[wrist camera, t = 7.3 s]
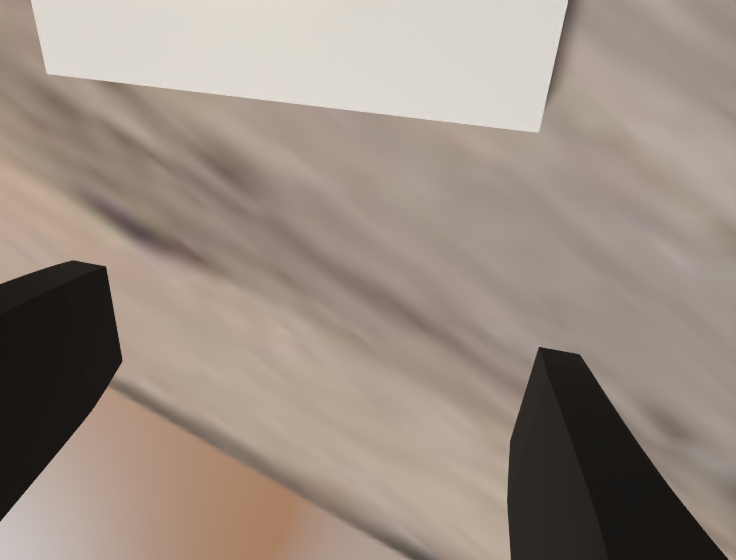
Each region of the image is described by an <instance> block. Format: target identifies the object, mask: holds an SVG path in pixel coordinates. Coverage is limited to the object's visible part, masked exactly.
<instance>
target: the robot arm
mask: <svg viewBox="0 0 736 560" xmlns="http://www.w3.org/2000/svg"><path fill="white" fill-rule="evenodd" d="M121 363H122V355H121V349H120V343H119V338H118V332H117V326H116V321H115V315H114V309H113V304H112V298H111V292H110V286H109V281H108V275H107V269H106V266H101V265H95V264H90V263H84V262H79V261H74V260H73V261H69V262H65V263H61V264H58V265H54V266H51V267H48V268H45V269H42V270H39V271H36V272H33V273H30V274H27V275H24V276H21V277H19V278H16V279H13V280H10V281H7V282H5V283H2V284H0V521H1V520H2V519H3V518H4V516H5V515H6V514H7V513H8V512H9V510H10V509H11V508H12V507H13V506H14V504H15V503H16V502H17V501H18V500H19V498H20V497H21V496H22V495H23V494H24V492H25V491H26V490H27V489H28V488H29V486H30V485H31V484H32V483H33V482H34V480H35V479H36V478H37V477H38V476H39V474H40V473H41V472H42V471H43V470H44V468H45V467H46V466H47V465H48V464H49V462H50V461H51V460H52V459H53V458H54V456H55V455H56V454H57V453H58V452H59V451H60V449H61V448H62V447H63V446H64V444H65V443H66V442H67V441H68V440H69V438H70V437H71V436H72V435H73V433H74V432H75V431H76V430H77V428H78V427H79V426H80V425H81V424H82V422H83V421H84V420H85V419H86V417H87V416H88V415H89V413H90V412H91V411H92V409H93V408H94V407H95V405H96V404H97V402H98V401H99V399H100V397H101V396H102V394H103V393H104V391H105V390H106V388H107V386H108V385H109V383H110V381H111V380H112V378H113V376H114V375H115V373H116V371H117V370H118V368H119V366H120V364H121ZM507 504H508V521H509V536H510V551H511V560H728V558H727V557H726V556H725V555H724V554H723V552H722V551H721V550H720V549H719V548H718V547H717V545H716V544H715V543H714V542H713V541H712V540H711V538H710V537H709V536H708V535H707V533H706V532H705V531H704V530H703V529H702V527H701V526H700V525H699V523H698V522H697V521H696V520H695V518H694V517H693V516H692V515H691V513H690V512H689V511H688V510H687V508H686V507H685V506H684V505H683V503H682V502H681V501H680V499H679V498H678V497H677V496H676V494H675V493H674V492H673V491H672V489H671V488H670V487H669V485H668V484H667V483H666V481H665V480H664V479H663V477H662V476H661V475H660V473H659V472H658V470H657V469H656V467H655V466H654V465H653V463H652V462H651V460H650V459H649V458H648V456H647V455H646V453H645V452H644V451H643V449H642V448H641V446H640V445H639V443H638V442H637V441H636V439H635V438H634V436H633V435H632V433H631V432H630V430H629V429H628V428H627V426H626V425H625V423H624V422H623V420H622V419H621V417H620V416H619V414H618V412H617V411H616V409H615V408H614V406H613V405H612V403H611V402H610V400H609V399H608V397H607V396H606V394H605V393H604V391H603V389H602V388H601V386H600V385H599V383H598V382H597V380H596V379H595V377H594V375H593V374H592V372H591V371H590V369H589V368H588V366H587V365H586V363H585V362H584V360H583V359H582V357H581V356H580V354H574V353H569V352H564V351H558V350H553V349H547V348H542V347H539V349H538V352H537V355H536V358H535V362H534V365H533V368H532V371H531V375H530V378H529V381H528V385H527V388H526V391H525V394H524V398H523V401H522V404H521V407H520V411H519V414H518V417H517V421H516V424H515V427H514V430H513V434H512V437H511V440H510V455H509V472H508V496H507Z"/></svg>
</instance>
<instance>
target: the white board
mask: <svg viewBox="0 0 736 560" xmlns="http://www.w3.org/2000/svg"><path fill="white" fill-rule="evenodd" d="M31 2H32V7H33V12H34V16H35V21H36V26H37V30H38V35H39V39H40V44H41V49H42V53H43V58H44V63H45V67H46V72H47V74H52V75H60V76H69V77H77V78H86V79H94V80H102V81H111V82H119V83H127V84H136V85H144V86H152V87H161V88H169V89H177V90H186V91H194V92H203V93H211V94H219V95H228V96H236V97H244V98H253V99H261V100H269V101H278V102H286V103H295V104H303V105H311V106H320V107H328V108H336V109H345V110H353V111H361V112H370V113H378V114H386V115H395V116H403V117H412V118H420V119H428V120H437V121H445V122H453V123H462V124H470V125H478V126H487V127H495V128H503V129H512V130H520V131H529V132H537V133H539V130H540V125H541V121H542V116H543V112H544V107H545V103H546V98H547V94H548V89H549V85H550V80H551V76H552V71H553V67H554V62H555V58H556V53H557V49H558V44H559V40H560V35H561V31H562V26H563V22H564V17H565V13H566V8H567V4H568V0H31Z"/></svg>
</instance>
